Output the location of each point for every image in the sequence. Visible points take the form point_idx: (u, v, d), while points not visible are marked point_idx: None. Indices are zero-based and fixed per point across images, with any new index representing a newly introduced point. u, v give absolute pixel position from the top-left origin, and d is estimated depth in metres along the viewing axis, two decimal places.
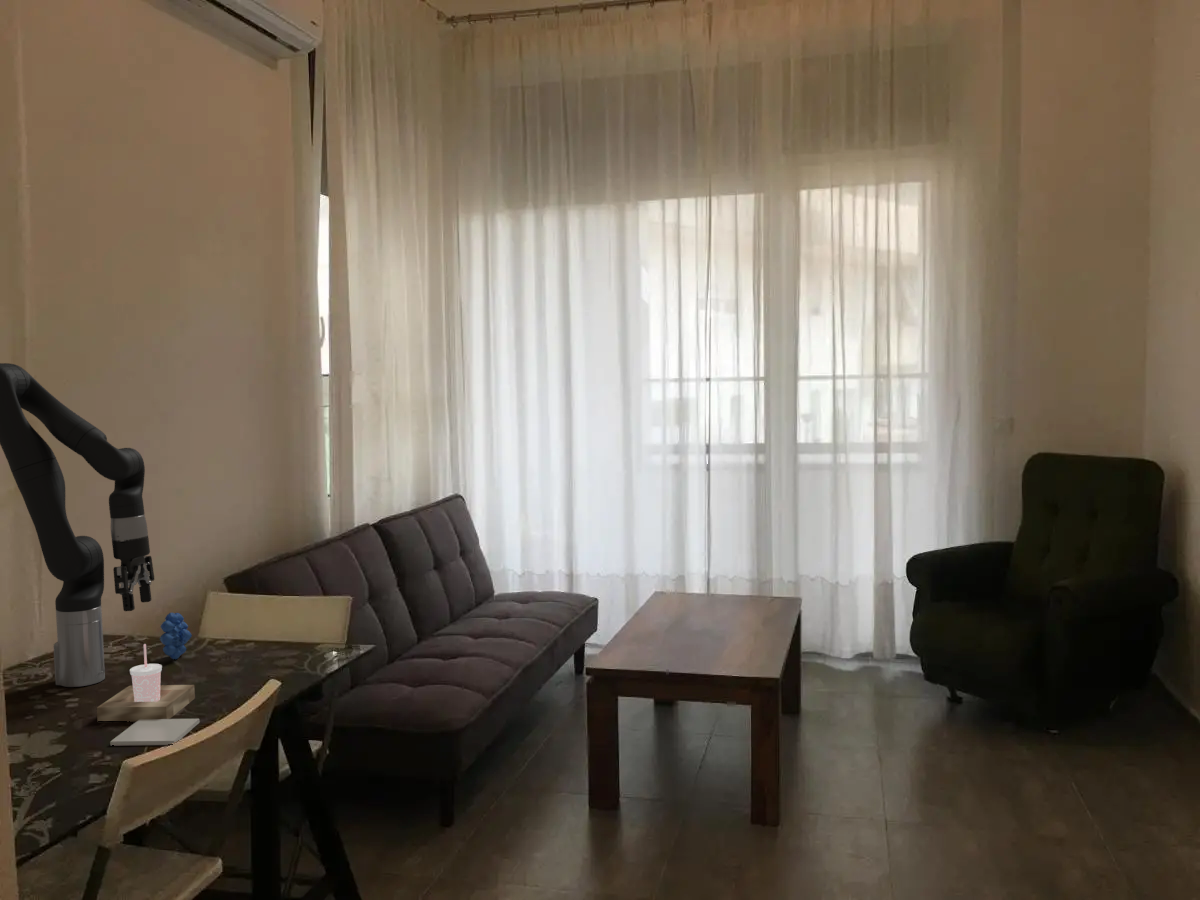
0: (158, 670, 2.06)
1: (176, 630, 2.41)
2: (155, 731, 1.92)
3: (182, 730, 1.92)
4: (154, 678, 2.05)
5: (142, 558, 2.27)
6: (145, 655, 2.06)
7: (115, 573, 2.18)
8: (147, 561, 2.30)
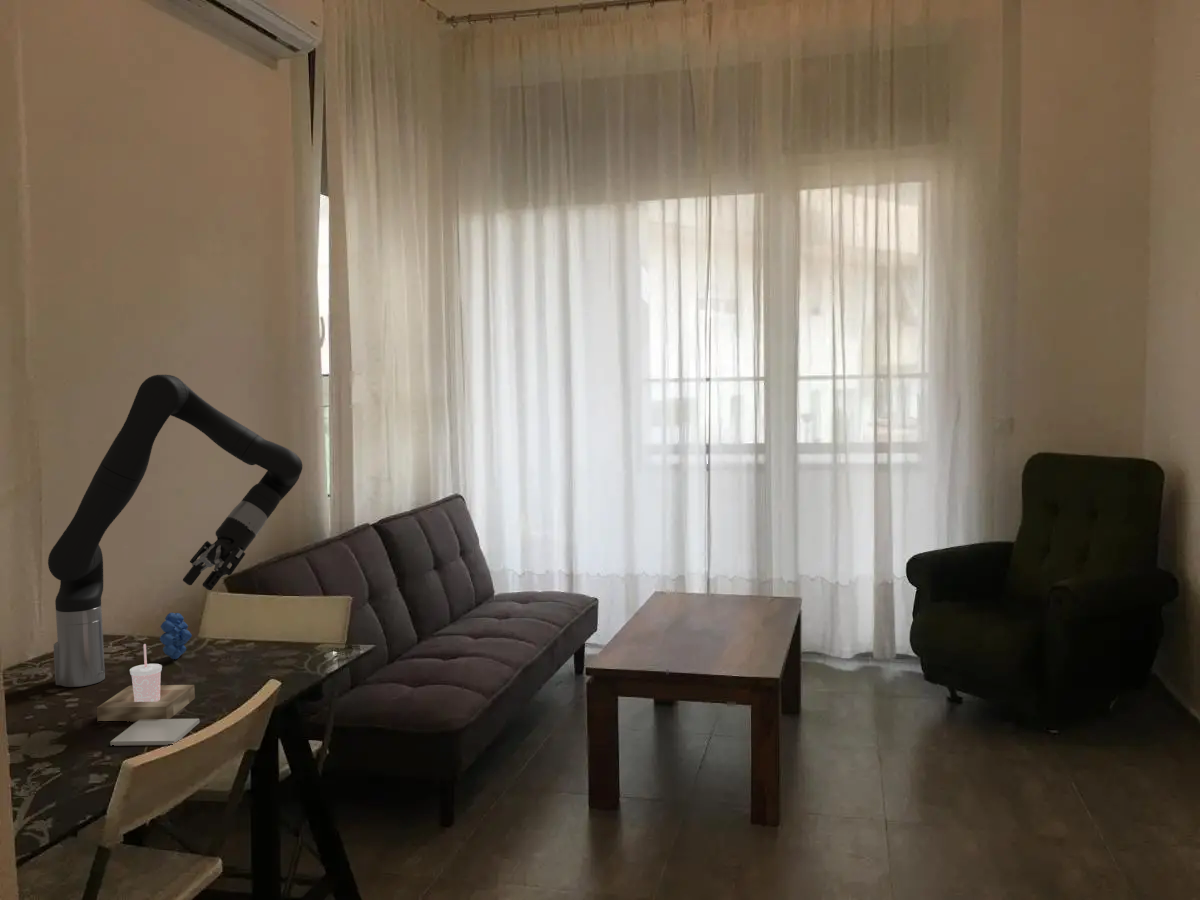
0: (158, 670, 2.06)
1: (176, 630, 2.41)
2: (155, 731, 1.92)
3: (182, 730, 1.92)
4: (154, 678, 2.05)
5: None
6: (145, 655, 2.06)
7: (236, 552, 2.13)
8: None
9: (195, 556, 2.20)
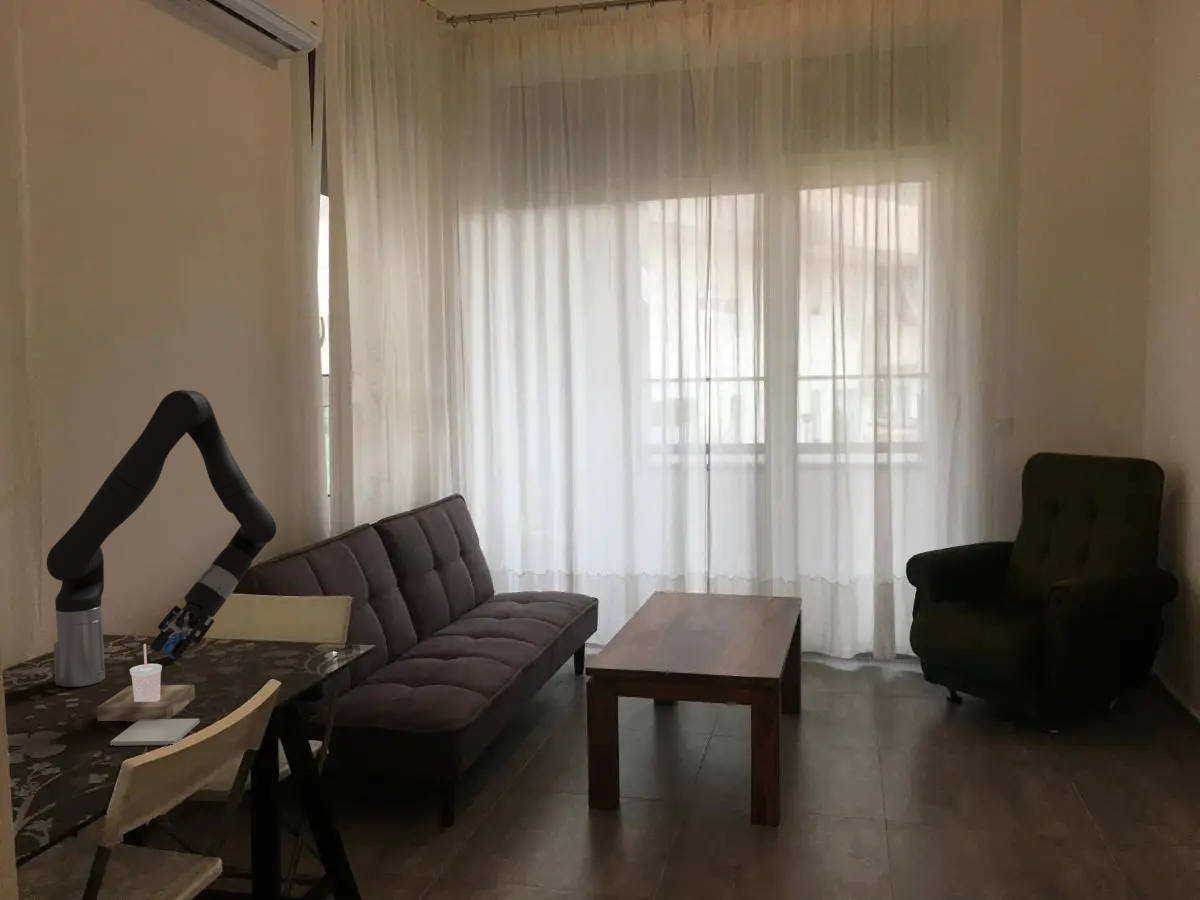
0: (158, 670, 2.06)
1: None
2: (155, 731, 1.92)
3: (182, 730, 1.92)
4: (154, 678, 2.05)
5: None
6: (145, 655, 2.06)
7: (204, 620, 2.08)
8: None
9: (163, 621, 2.15)
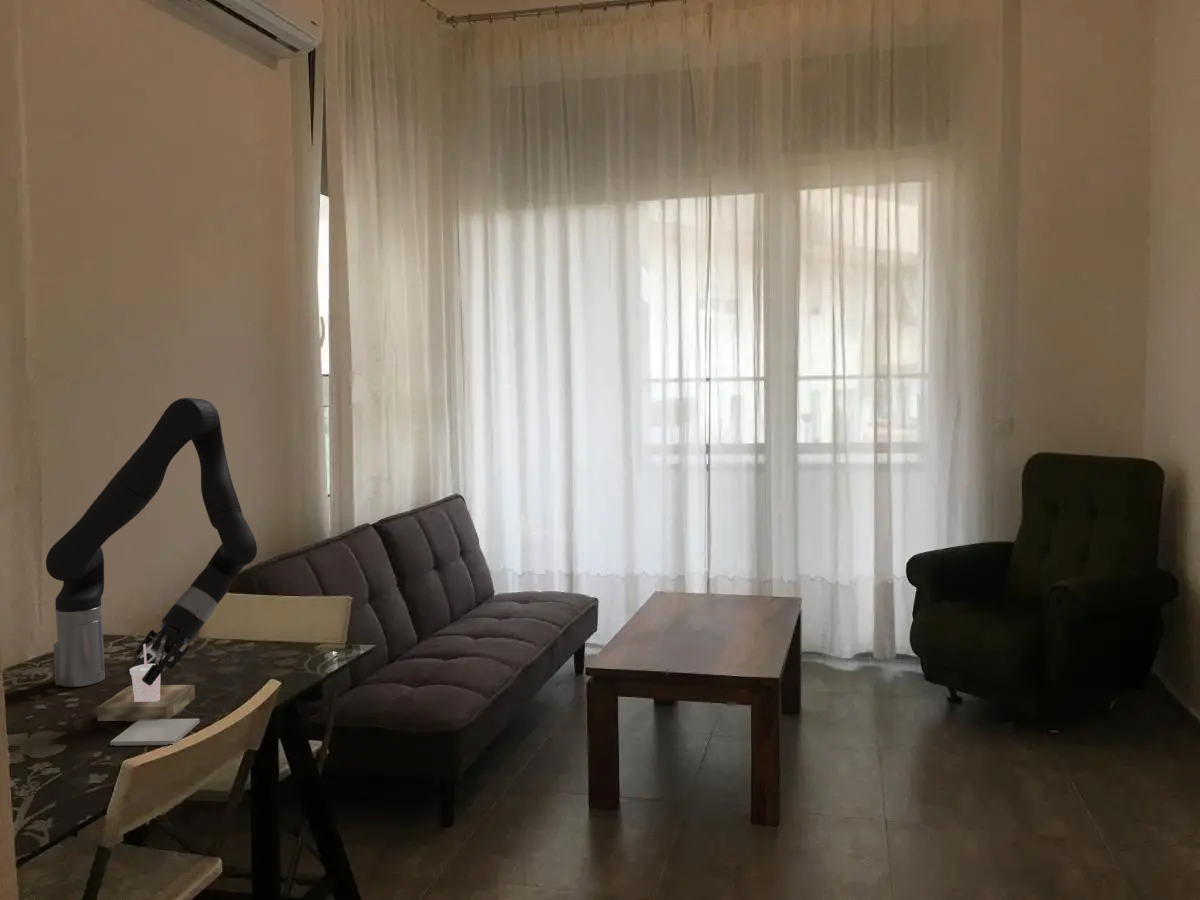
0: None
1: None
2: (155, 731, 1.92)
3: (182, 730, 1.92)
4: None
5: None
6: (145, 655, 2.06)
7: (179, 646, 2.05)
8: None
9: (140, 647, 2.11)
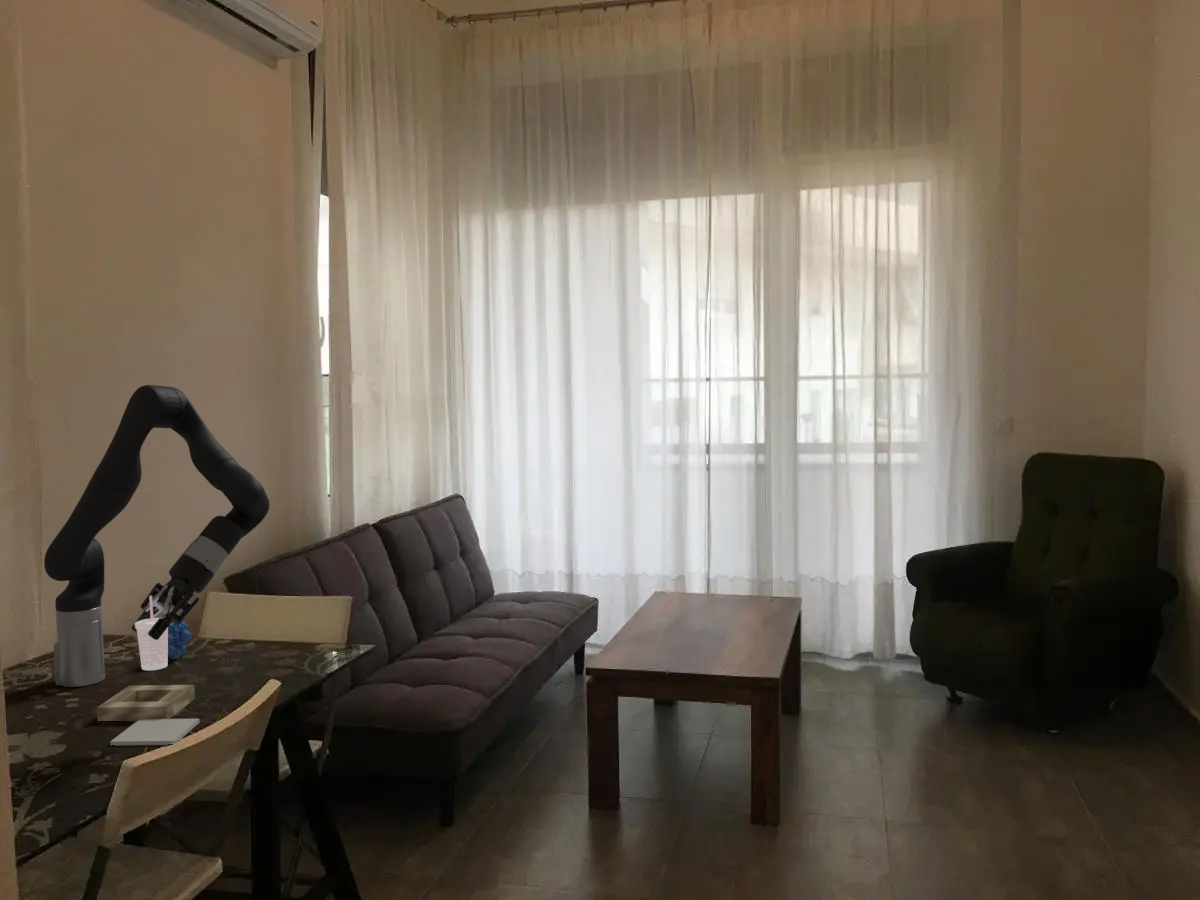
0: None
1: (176, 630, 2.41)
2: (155, 731, 1.92)
3: (182, 730, 1.92)
4: None
5: None
6: (151, 608, 1.91)
7: (188, 598, 1.90)
8: None
9: (146, 600, 1.96)
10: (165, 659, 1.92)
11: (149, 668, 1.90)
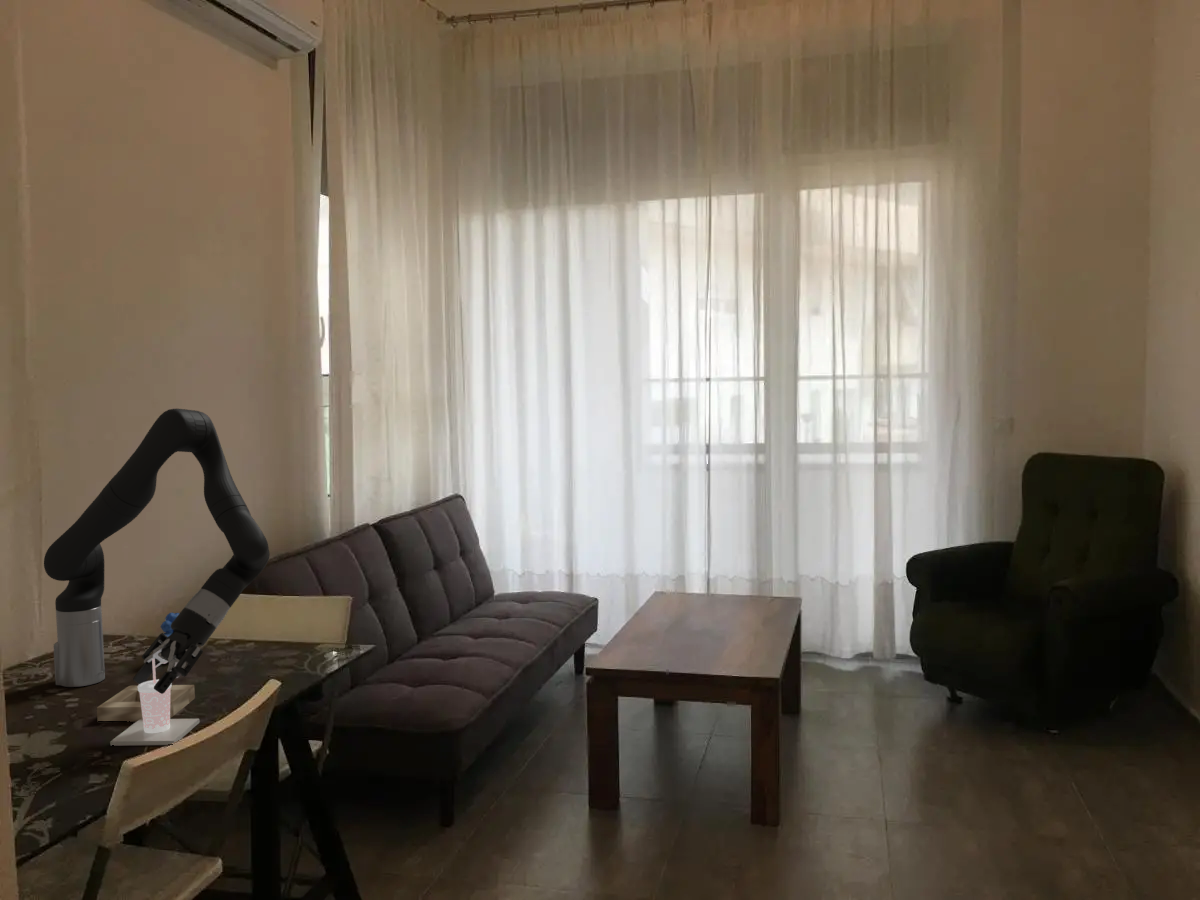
0: None
1: None
2: None
3: (182, 730, 1.92)
4: (164, 695, 1.91)
5: None
6: (154, 670, 1.92)
7: (192, 651, 1.91)
8: None
9: (148, 651, 1.97)
10: (167, 721, 1.93)
11: (152, 731, 1.91)
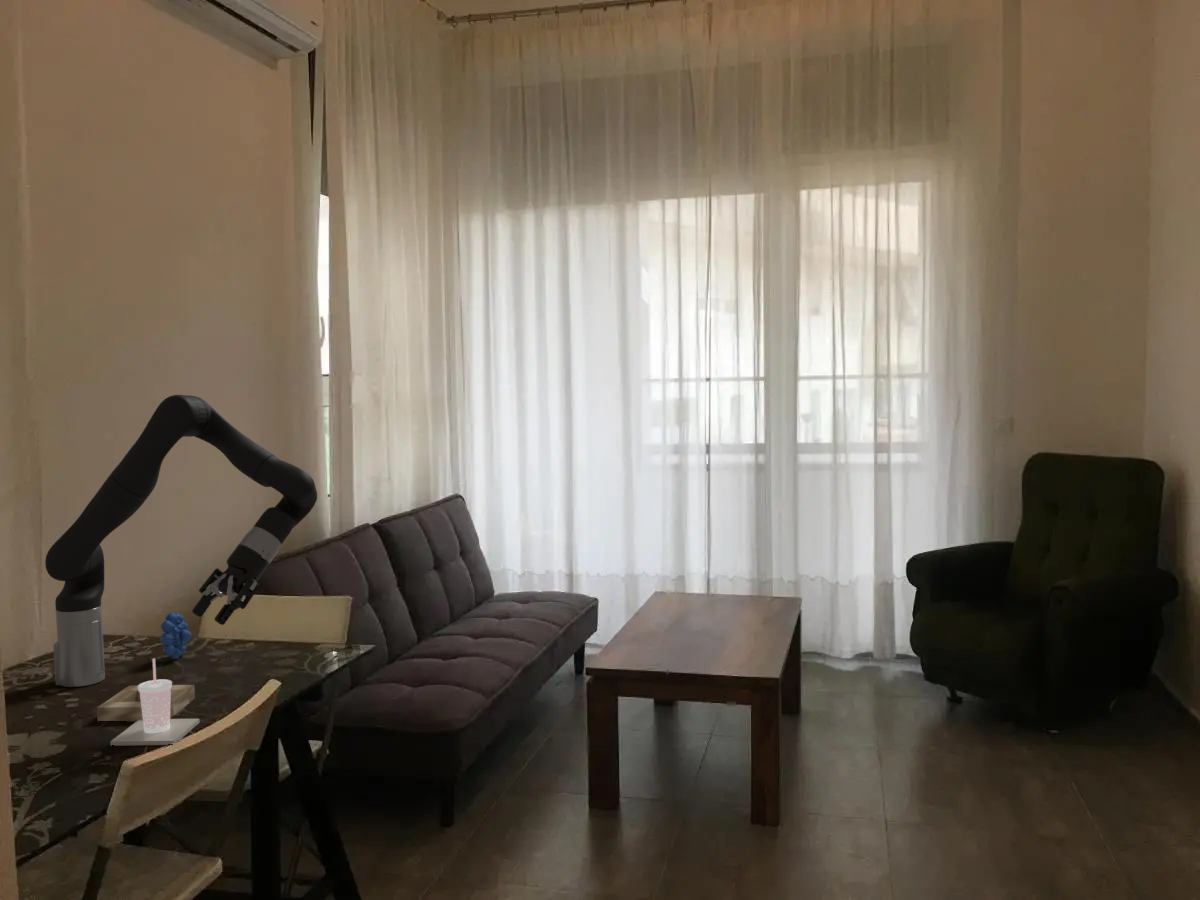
0: (168, 686, 1.92)
1: (176, 630, 2.41)
2: None
3: (182, 730, 1.92)
4: (164, 695, 1.91)
5: None
6: (154, 670, 1.92)
7: (250, 585, 2.01)
8: None
9: (204, 585, 2.07)
10: (168, 721, 1.93)
11: (152, 731, 1.91)
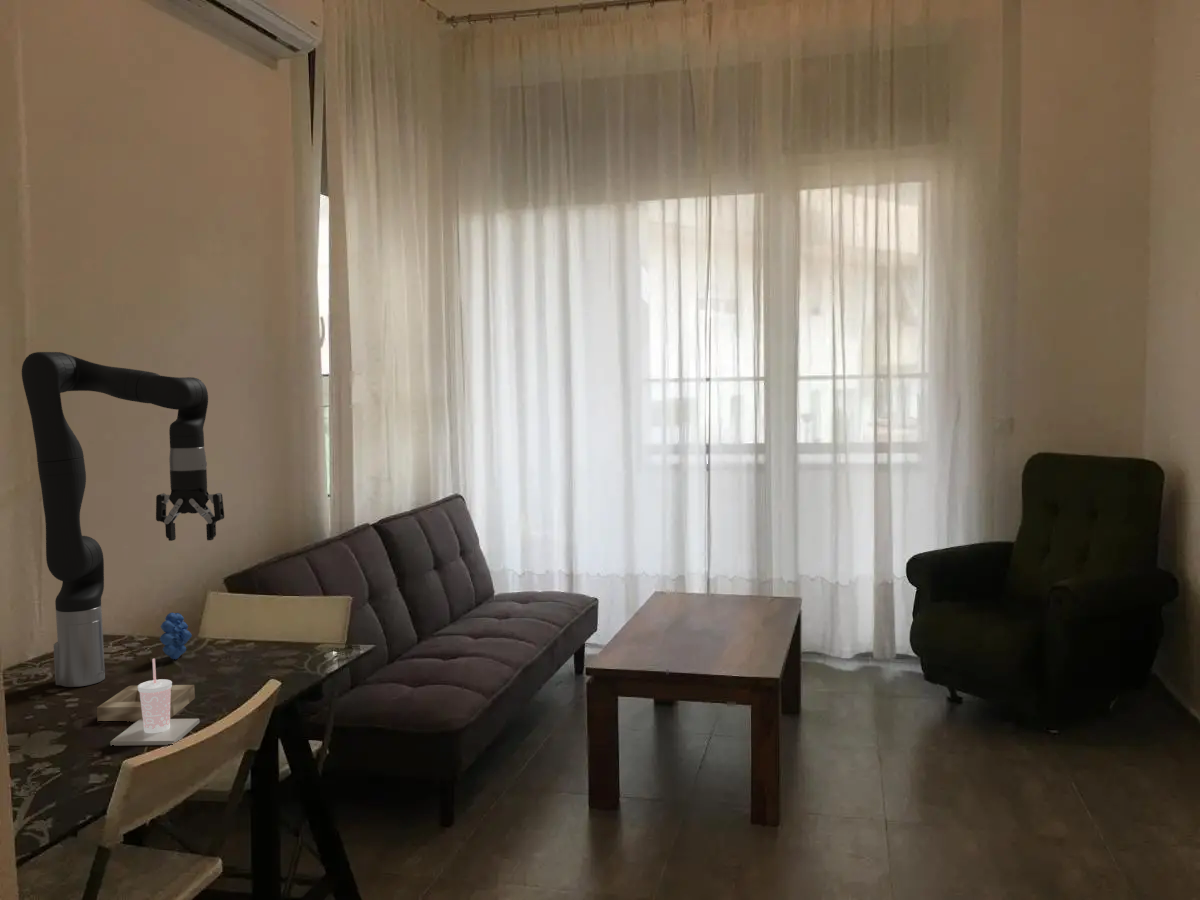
0: (168, 686, 1.92)
1: (176, 630, 2.41)
2: None
3: (182, 730, 1.92)
4: (164, 695, 1.91)
5: None
6: (154, 670, 1.92)
7: (219, 499, 2.19)
8: None
9: (159, 513, 2.19)
10: (168, 721, 1.93)
11: (152, 731, 1.91)
